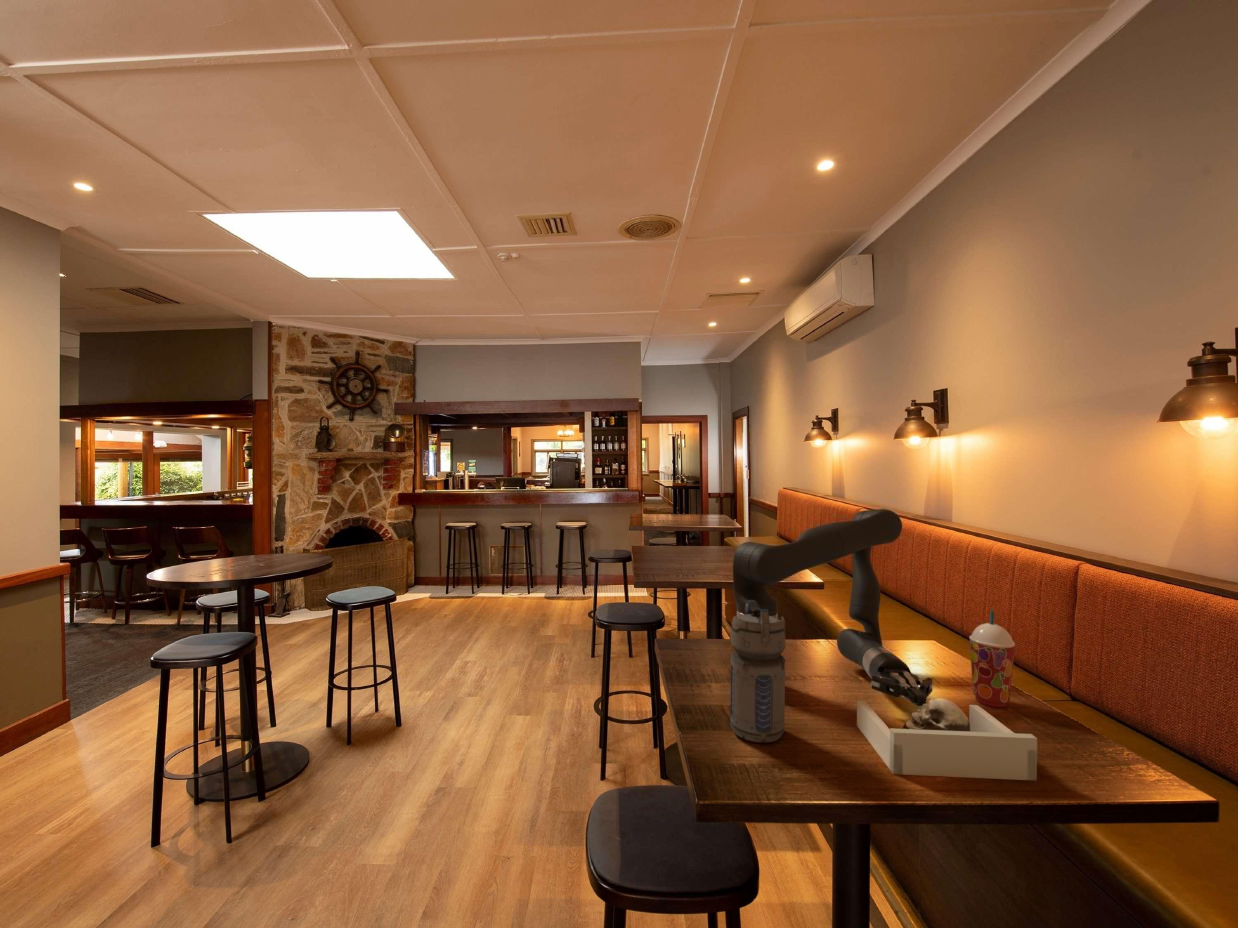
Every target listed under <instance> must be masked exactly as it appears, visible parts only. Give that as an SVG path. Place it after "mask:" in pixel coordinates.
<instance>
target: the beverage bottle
mask: <svg viewBox="0 0 1238 928" xmlns="http://www.w3.org/2000/svg"><path fill="white" fill-rule="evenodd" d="M759 612H761V614H758V613H759ZM780 618H781V620H780V619H779V618H777V619H776V618H774V617H771V616H769V612H768V609H760V608H759V605H758V603H757V602H756V601H754V600H748V601H747V602H746V604H745V615H742V616H738V617H737V615H733V617H732V620H731V629H730V640H731V642H730V644H731V646H732V648H733V649H734V651H733V652H732V653H731V655H730V716H729V717H730V718H729V719H730V722H729V724H730V727H731V729H732V731H733V733H734V734H735V735H736V736H738V737H739V738H741V739H745V740H746V741H749V742H752V743H753V742H754V743H759V744H760V743H761V744H763V743H764V744H765V743H767V744H768V743H773V742H776V741H778V740H780V739H781V738H782V736H783V735H784V733H785V707H786V705H785V703H786V701H785V699H786V696H785V695H786V692H785V691H786V658H784V656H783V655H782V653H783V652H784V651H785V650H786V619H785V618H784V616H780Z"/></svg>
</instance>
